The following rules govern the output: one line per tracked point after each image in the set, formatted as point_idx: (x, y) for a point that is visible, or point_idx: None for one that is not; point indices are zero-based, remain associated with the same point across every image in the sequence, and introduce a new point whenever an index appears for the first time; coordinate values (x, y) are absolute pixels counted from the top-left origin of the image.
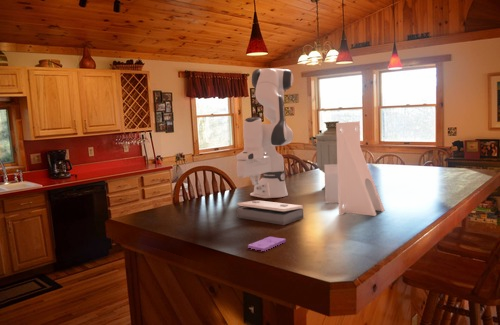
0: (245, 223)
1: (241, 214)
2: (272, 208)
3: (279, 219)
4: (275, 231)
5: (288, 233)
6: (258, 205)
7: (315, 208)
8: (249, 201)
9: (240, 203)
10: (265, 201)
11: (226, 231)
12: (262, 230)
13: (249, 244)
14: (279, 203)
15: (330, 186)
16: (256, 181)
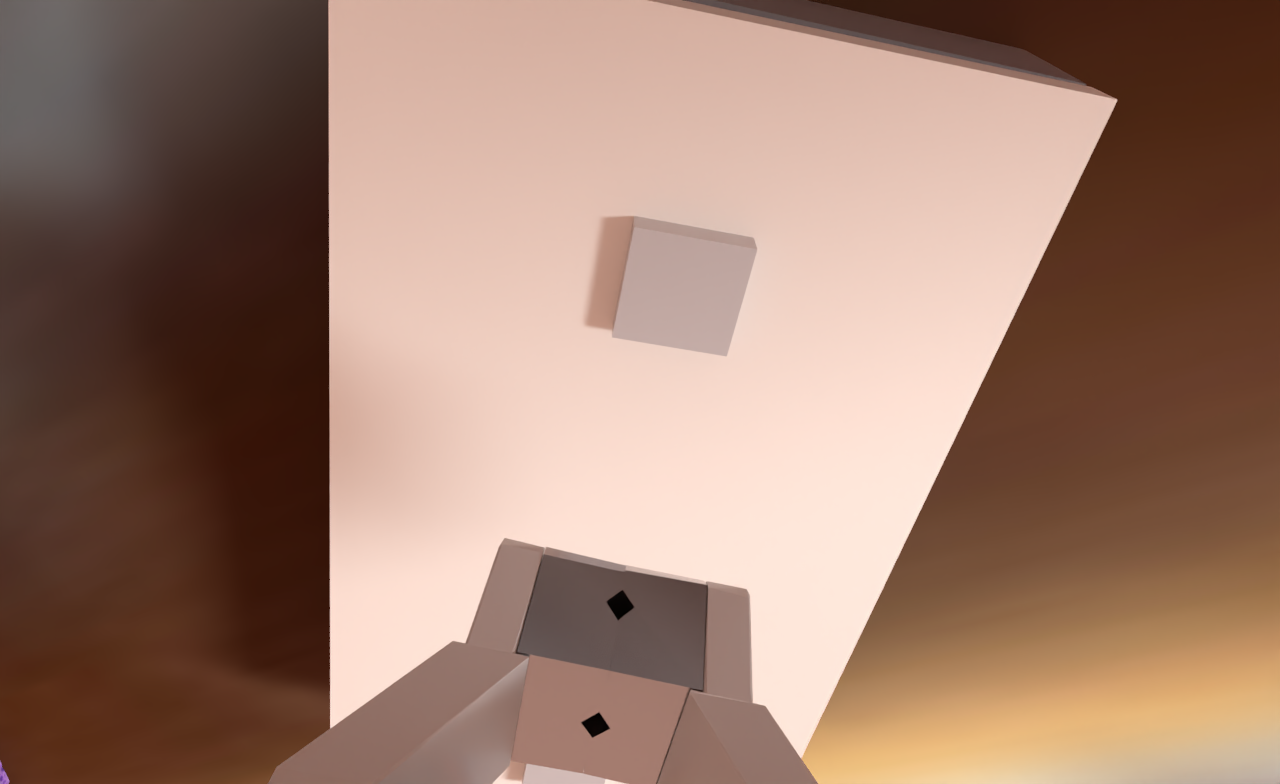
0: (210, 265)
1: None
2: (334, 705)
3: None
4: (169, 665)
5: (191, 755)
6: (355, 503)
7: (1251, 737)
8: (778, 56)
9: (330, 60)
10: (955, 354)
11: None
12: (114, 563)
13: None
14: (796, 632)
15: None
16: (569, 747)
